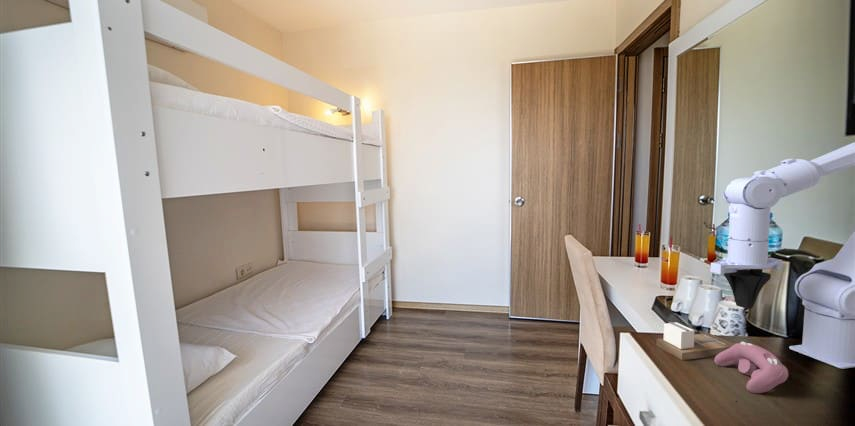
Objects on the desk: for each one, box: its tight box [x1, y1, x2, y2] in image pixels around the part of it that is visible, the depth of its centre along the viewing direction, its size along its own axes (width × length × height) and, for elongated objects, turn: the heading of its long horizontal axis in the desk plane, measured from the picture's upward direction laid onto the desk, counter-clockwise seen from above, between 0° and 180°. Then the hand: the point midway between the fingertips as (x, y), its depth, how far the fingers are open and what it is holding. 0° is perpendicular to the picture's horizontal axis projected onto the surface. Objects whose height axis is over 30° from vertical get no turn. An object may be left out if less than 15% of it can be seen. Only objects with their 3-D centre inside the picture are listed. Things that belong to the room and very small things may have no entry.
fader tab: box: [663, 321, 696, 349], centre depth 69 cm, size 3×4×4 cm
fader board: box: [655, 332, 735, 361], centre depth 70 cm, size 13×6×2 cm, turn 100°
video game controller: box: [713, 341, 789, 394], centre depth 59 cm, size 10×5×7 cm, turn 169°
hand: (744, 306), depth 68 cm, fingers closed
